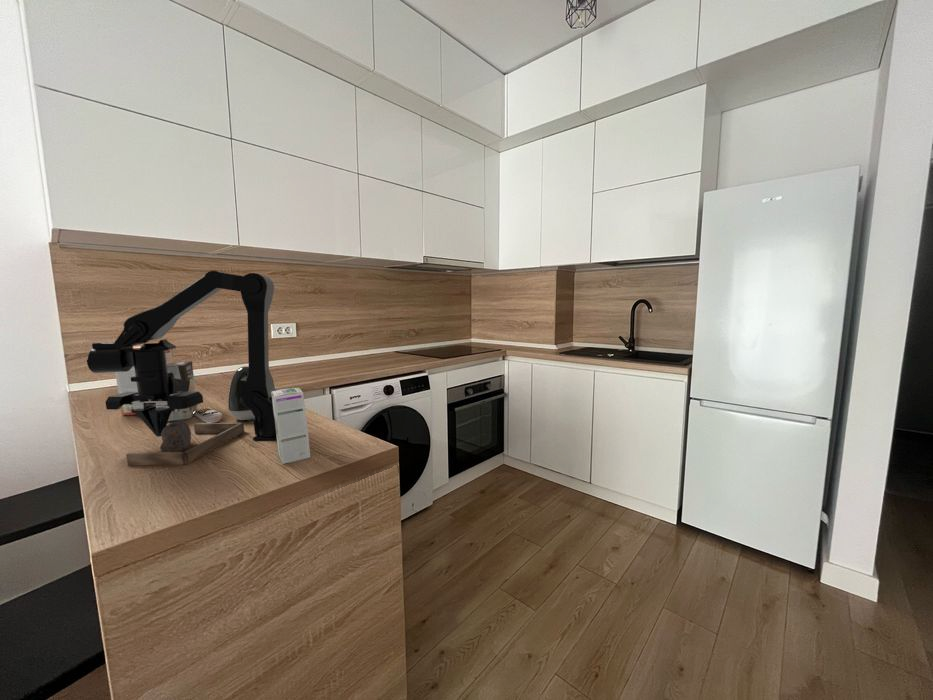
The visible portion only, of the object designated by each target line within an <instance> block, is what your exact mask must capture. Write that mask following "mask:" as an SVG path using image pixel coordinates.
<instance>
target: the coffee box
mask: <svg viewBox="0 0 933 700" xmlns="http://www.w3.org/2000/svg"><path fill="white" fill-rule="evenodd" d="M167 369H168V372H172V373H173V374H174V378H175V379H182V380H188V381H190V386H189V391H196V384H195V382H196V381H195V375H194V374H195V373H194V366H193V361H192V360H189V361H188V360H186V361H177V362H176V361H175V362H174V363H167ZM177 394H179V393H177ZM172 395H175V394H171V395H170V396H172ZM198 405H199V404H197V405H195V406H192V407H189V408H186V409H174V410H173V411H172V412H171V414H170V416H169V419H168V422H174V421H177V420H182V421H183V420H190V419H191V418H192V417H193V416H194V415H193V412H194V411H197V410H198V411H199V407H198ZM198 411H197V412H198Z"/></svg>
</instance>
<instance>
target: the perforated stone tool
mask: <svg viewBox="0 0 933 700" xmlns="http://www.w3.org/2000/svg"><path fill="white" fill-rule="evenodd" d="M160 437H161V440H162V443H161V445H160V446H159V447H160V448H159V449H160V450H161V452H185V451H187V450H189V449H190V446H191V441H192V431H191V428H190V426H189V424H188V423H187V422H186V421H184V420H183V419H182V420H175V421H171V422H170V423H168V424H167V425H166V427H165V428H164V429H163V430H162V432H161V436H160Z"/></svg>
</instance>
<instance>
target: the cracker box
mask: <svg viewBox="0 0 933 700" xmlns="http://www.w3.org/2000/svg"><path fill="white" fill-rule="evenodd" d="M141 346H142V345H141ZM141 346H140V345H136V346H133V348H141ZM165 353H166V362H167V363H175V362H174V355H173V349H171V350H165ZM114 373H115V379H116V386H117V392H118V393H117V394H121V393H125V392H138V390H137V383H136V382H131V377H134V376H135V368H134V366H133V367H132V368H131V369H130V370H129V371H127V372H114ZM131 410H134V406H133V404H124V405H123V406H122V407H121V408H120V412H121V415H122V416H134V415H136V414H135V413H131ZM136 416H137V415H136Z"/></svg>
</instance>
